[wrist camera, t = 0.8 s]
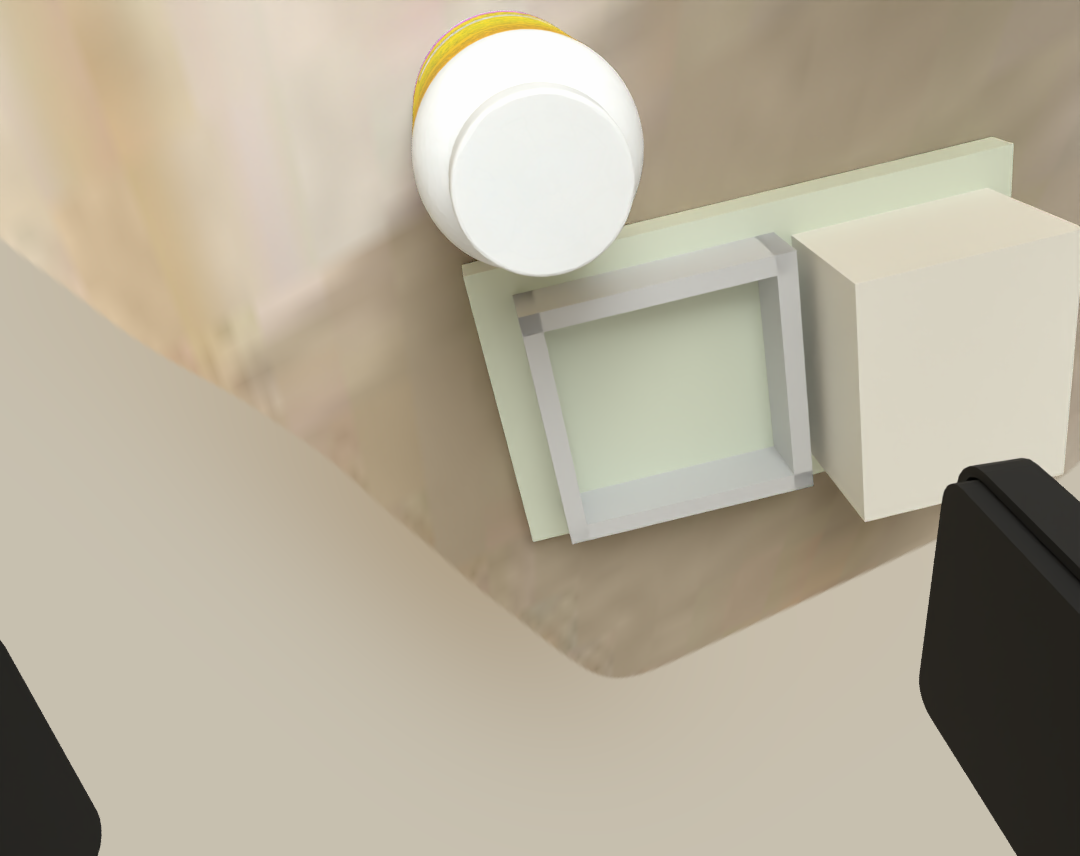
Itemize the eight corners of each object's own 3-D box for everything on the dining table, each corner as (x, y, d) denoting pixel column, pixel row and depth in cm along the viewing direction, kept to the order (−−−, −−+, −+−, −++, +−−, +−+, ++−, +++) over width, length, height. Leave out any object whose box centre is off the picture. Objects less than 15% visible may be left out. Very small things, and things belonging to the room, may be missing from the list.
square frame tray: (992, 136, 36) (1118, 177, 29) (982, 414, 42) (1084, 499, 36) (461, 265, 36) (470, 334, 29) (529, 523, 42) (549, 629, 36)
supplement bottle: (376, 80, 33) (350, 148, 21) (527, -32, 31) (585, -23, 20) (481, 230, 36) (508, 358, 24) (623, 132, 34) (720, 219, 23)
